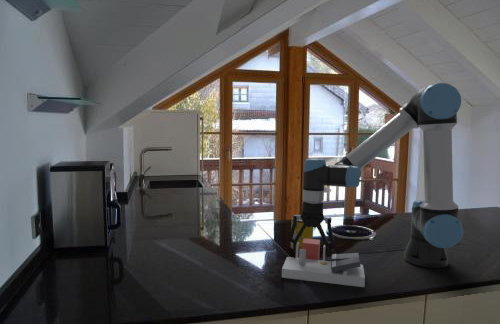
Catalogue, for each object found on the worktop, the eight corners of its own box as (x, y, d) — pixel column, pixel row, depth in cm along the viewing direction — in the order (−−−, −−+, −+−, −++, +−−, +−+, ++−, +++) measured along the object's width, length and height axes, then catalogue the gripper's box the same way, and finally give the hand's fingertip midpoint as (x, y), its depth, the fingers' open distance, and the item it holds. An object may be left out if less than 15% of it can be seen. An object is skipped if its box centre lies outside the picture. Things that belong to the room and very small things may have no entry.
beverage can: (299, 242, 163) (300, 215, 162) (316, 248, 156) (318, 219, 155) (285, 247, 157) (287, 218, 156) (303, 252, 150) (304, 222, 149)
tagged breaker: (358, 257, 129) (358, 252, 129) (359, 262, 124) (359, 257, 124) (332, 259, 131) (331, 254, 131) (331, 263, 127) (331, 258, 126)
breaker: (359, 261, 123) (358, 256, 123) (360, 266, 119) (359, 261, 119) (332, 266, 126) (331, 261, 126) (332, 272, 121) (330, 266, 121)
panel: (362, 273, 130) (363, 250, 129) (364, 287, 118) (365, 262, 118) (286, 264, 136) (287, 243, 135) (281, 277, 124) (282, 253, 124)
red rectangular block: (319, 260, 141) (320, 239, 140) (318, 266, 135) (319, 244, 135) (303, 259, 142) (303, 238, 142) (301, 264, 137) (302, 242, 136)
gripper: (343, 201, 138) (340, 261, 140) (284, 197, 143) (282, 255, 145) (344, 205, 131) (340, 269, 133) (281, 201, 136) (279, 262, 138)
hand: (310, 262), depth 139 cm, fingers open, 9 cm apart
